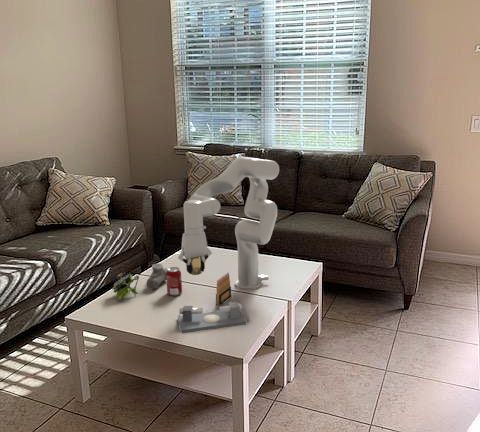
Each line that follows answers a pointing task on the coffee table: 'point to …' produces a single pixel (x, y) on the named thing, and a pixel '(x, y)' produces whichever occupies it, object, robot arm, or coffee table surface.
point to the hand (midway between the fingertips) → (195, 271)
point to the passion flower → (124, 285)
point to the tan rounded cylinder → (196, 265)
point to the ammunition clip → (223, 290)
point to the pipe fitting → (157, 276)
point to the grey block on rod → (189, 312)
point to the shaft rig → (214, 319)
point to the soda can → (174, 281)
